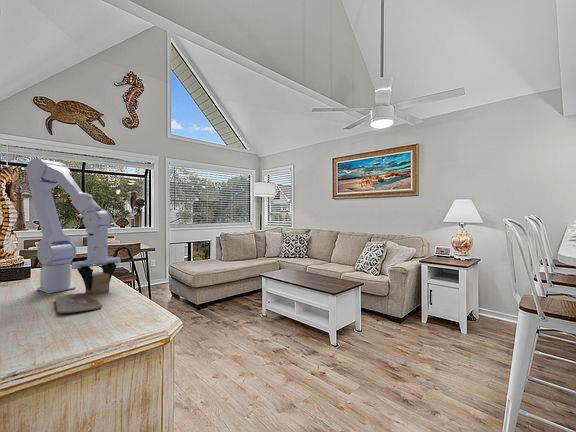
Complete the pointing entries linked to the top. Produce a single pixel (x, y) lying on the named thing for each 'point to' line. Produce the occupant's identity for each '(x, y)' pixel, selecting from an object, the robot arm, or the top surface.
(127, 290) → the top surface
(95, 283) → the walnut block
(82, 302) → the stone
